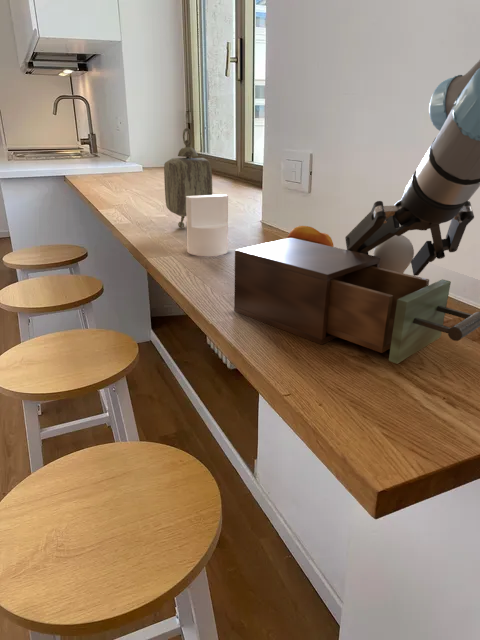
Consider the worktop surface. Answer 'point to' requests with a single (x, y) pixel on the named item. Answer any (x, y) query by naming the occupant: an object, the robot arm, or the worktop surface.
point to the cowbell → (186, 178)
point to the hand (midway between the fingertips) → (384, 268)
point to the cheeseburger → (310, 235)
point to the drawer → (392, 311)
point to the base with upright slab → (207, 224)
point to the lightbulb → (395, 253)
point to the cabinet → (292, 283)
